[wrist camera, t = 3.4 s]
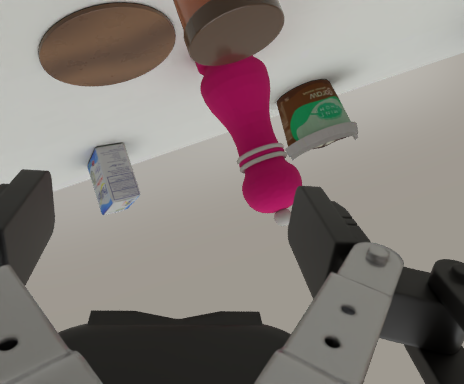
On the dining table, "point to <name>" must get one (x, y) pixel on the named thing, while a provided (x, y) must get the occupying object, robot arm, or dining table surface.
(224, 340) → the robot arm
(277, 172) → the pepper mill
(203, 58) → the spice jar
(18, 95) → the dining table surface
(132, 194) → the medicine box
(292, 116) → the food container
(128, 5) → the cork coaster
